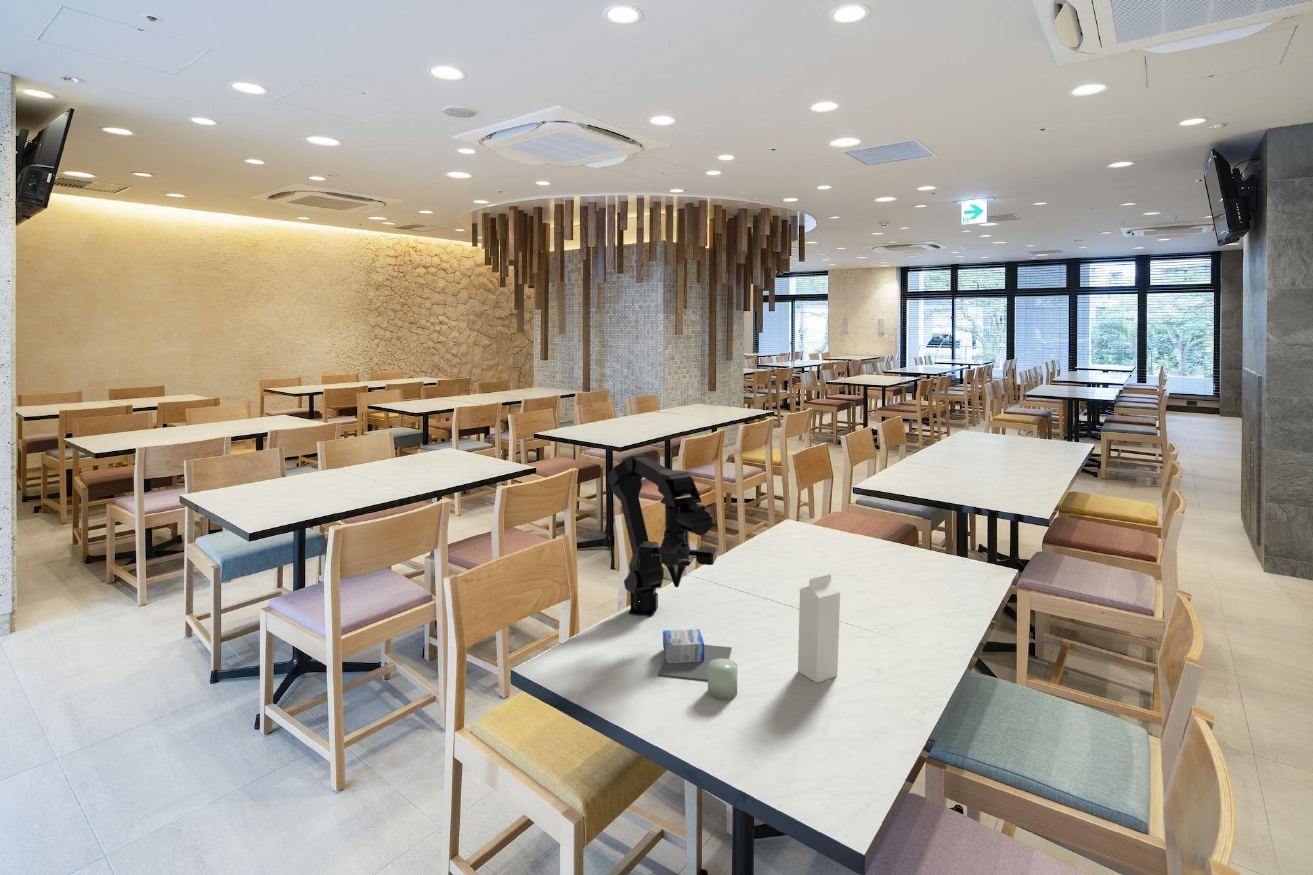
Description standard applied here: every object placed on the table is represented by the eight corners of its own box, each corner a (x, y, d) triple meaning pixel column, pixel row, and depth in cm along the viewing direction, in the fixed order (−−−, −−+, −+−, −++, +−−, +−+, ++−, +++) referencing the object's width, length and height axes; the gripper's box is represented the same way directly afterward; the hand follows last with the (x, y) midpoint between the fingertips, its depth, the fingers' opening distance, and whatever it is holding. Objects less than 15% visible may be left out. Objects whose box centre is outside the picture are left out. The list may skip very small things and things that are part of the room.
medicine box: (662, 630, 160) (699, 627, 161) (662, 648, 161) (699, 645, 162) (665, 645, 152) (704, 643, 153) (666, 664, 153) (704, 661, 154)
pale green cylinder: (705, 698, 139) (705, 670, 138) (710, 683, 145) (710, 657, 144) (735, 702, 138) (735, 674, 137) (738, 686, 144) (739, 660, 143)
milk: (837, 676, 148) (841, 578, 144) (816, 683, 145) (819, 583, 141) (817, 664, 153) (821, 569, 150) (796, 671, 150) (800, 574, 147)
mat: (657, 675, 149) (657, 674, 149) (672, 642, 164) (672, 641, 164) (722, 682, 146) (722, 681, 146) (731, 648, 161) (731, 647, 161)
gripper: (629, 531, 160) (630, 595, 163) (708, 537, 155) (708, 603, 158) (643, 518, 171) (643, 578, 173) (717, 523, 166) (716, 585, 168)
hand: (676, 586), depth 168 cm, fingers closed
